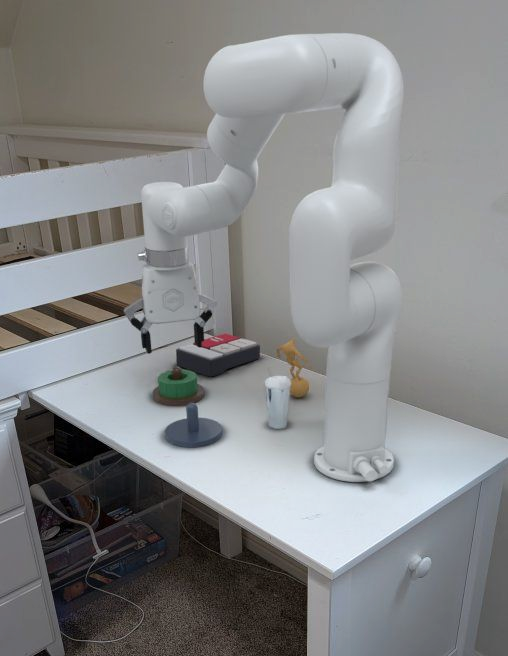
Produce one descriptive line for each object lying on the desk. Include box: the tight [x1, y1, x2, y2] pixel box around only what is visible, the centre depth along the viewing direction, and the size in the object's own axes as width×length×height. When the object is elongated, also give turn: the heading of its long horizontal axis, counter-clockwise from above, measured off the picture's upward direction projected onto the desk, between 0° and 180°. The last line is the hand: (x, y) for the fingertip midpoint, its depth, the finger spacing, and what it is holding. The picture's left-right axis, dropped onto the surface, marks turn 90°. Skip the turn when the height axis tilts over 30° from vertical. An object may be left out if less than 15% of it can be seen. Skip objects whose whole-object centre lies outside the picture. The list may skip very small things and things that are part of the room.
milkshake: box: [264, 366, 291, 430], centre depth 130 cm, size 4×5×10 cm
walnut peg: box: [152, 365, 205, 407], centre depth 144 cm, size 10×10×6 cm
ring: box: [157, 369, 198, 398], centre depth 145 cm, size 7×7×3 cm
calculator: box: [175, 333, 261, 378], centre depth 160 cm, size 11×4×15 cm
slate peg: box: [164, 402, 223, 448], centre depth 129 cm, size 10×10×6 cm
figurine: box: [276, 338, 312, 398], centre depth 140 cm, size 8×6×12 cm
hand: (173, 348), depth 141 cm, fingers open, 9 cm apart
